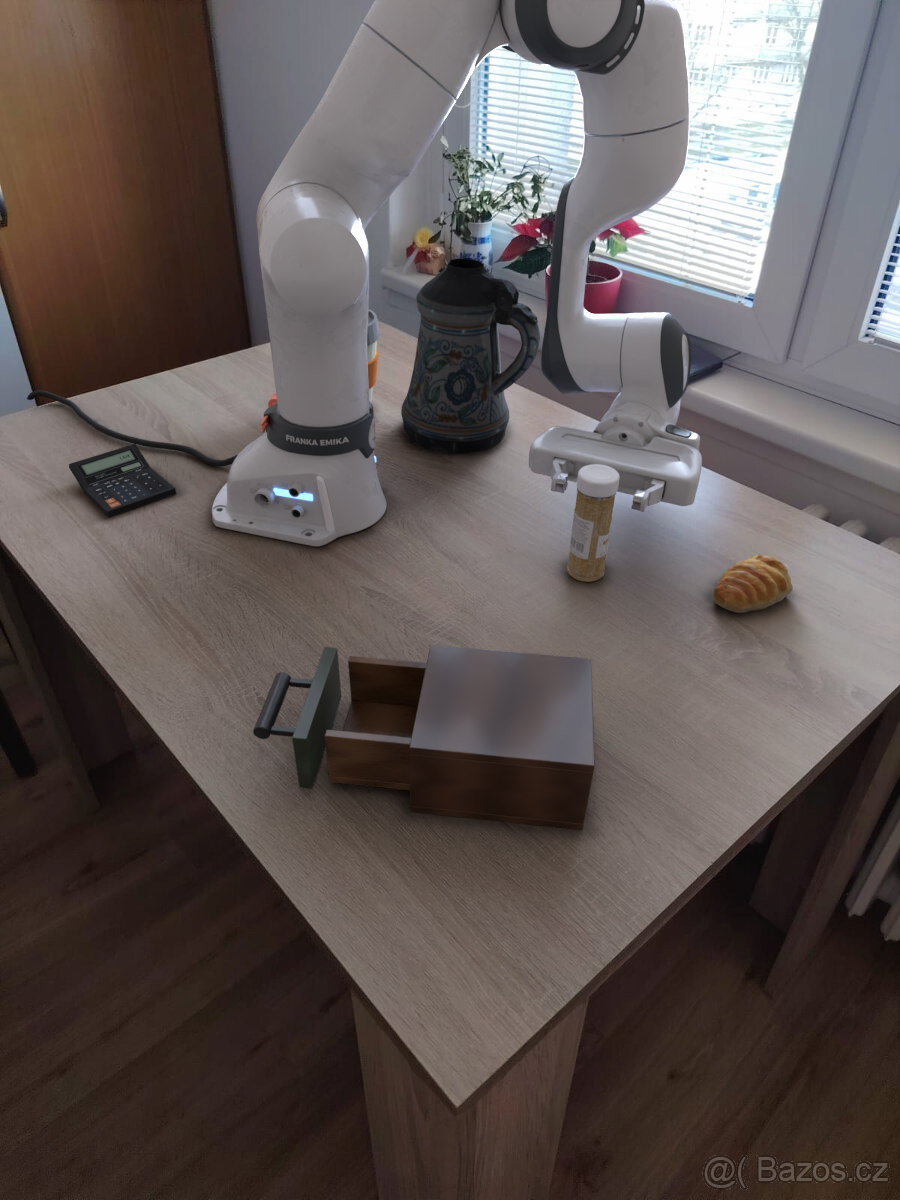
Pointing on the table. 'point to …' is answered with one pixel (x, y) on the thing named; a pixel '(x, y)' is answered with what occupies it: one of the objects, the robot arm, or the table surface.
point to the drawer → (351, 721)
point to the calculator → (120, 480)
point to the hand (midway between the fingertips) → (597, 495)
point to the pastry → (753, 585)
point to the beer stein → (465, 360)
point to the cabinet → (503, 737)
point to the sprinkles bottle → (592, 521)
